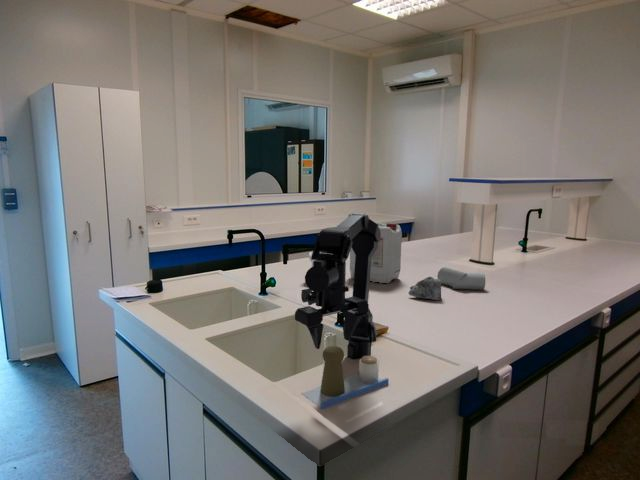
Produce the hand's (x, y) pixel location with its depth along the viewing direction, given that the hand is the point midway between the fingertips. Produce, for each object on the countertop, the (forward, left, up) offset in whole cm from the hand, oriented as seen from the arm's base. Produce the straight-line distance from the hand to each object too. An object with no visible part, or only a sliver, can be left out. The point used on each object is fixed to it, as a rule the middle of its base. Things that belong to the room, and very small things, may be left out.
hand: (332, 344), depth 106 cm
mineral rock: (-87, -43, -13) cm, 98 cm away
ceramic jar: (-11, +2, -12) cm, 16 cm away
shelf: (-3, +2, -13) cm, 13 cm away
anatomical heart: (-64, -94, -13) cm, 115 cm away
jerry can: (-93, -82, -13) cm, 125 cm away
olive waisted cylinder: (0, +1, -12) cm, 12 cm away
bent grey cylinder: (-117, -47, -13) cm, 126 cm away
